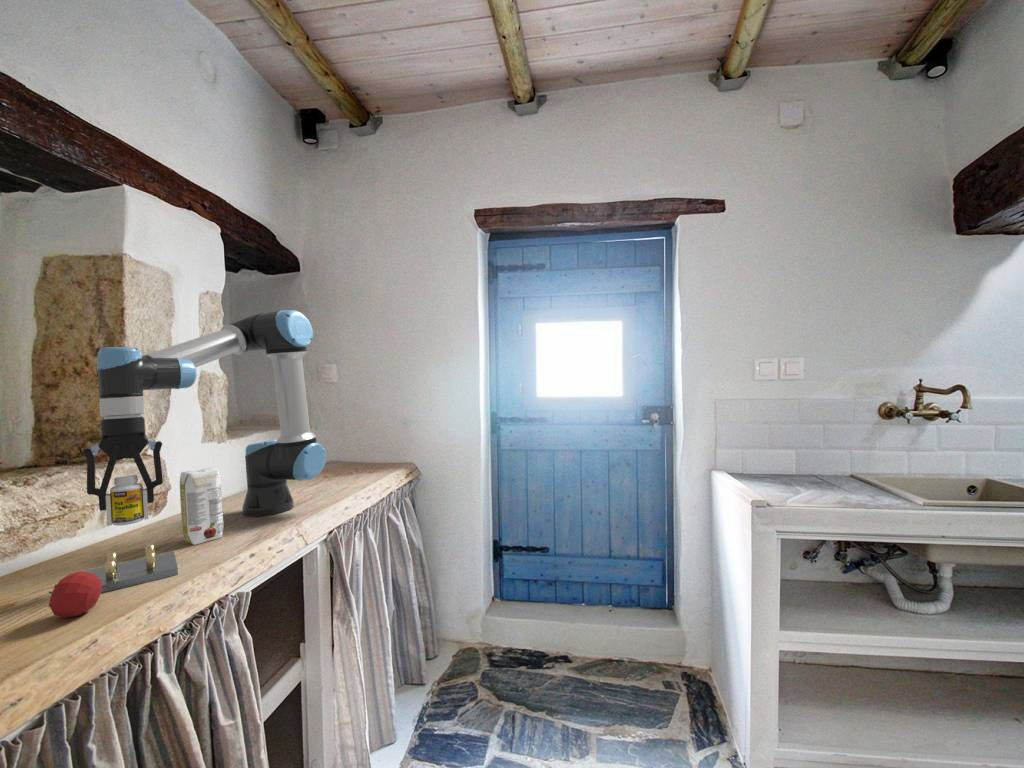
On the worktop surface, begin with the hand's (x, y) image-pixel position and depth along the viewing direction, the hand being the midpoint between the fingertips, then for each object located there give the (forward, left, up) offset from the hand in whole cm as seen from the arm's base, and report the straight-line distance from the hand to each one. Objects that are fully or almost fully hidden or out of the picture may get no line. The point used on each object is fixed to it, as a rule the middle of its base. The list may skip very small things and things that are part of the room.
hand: (128, 520), depth 104 cm
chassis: (0, 0, -12) cm, 12 cm away
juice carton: (-15, -18, -13) cm, 27 cm away
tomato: (+8, +16, -13) cm, 22 cm away
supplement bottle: (0, 0, -1) cm, 1 cm away
